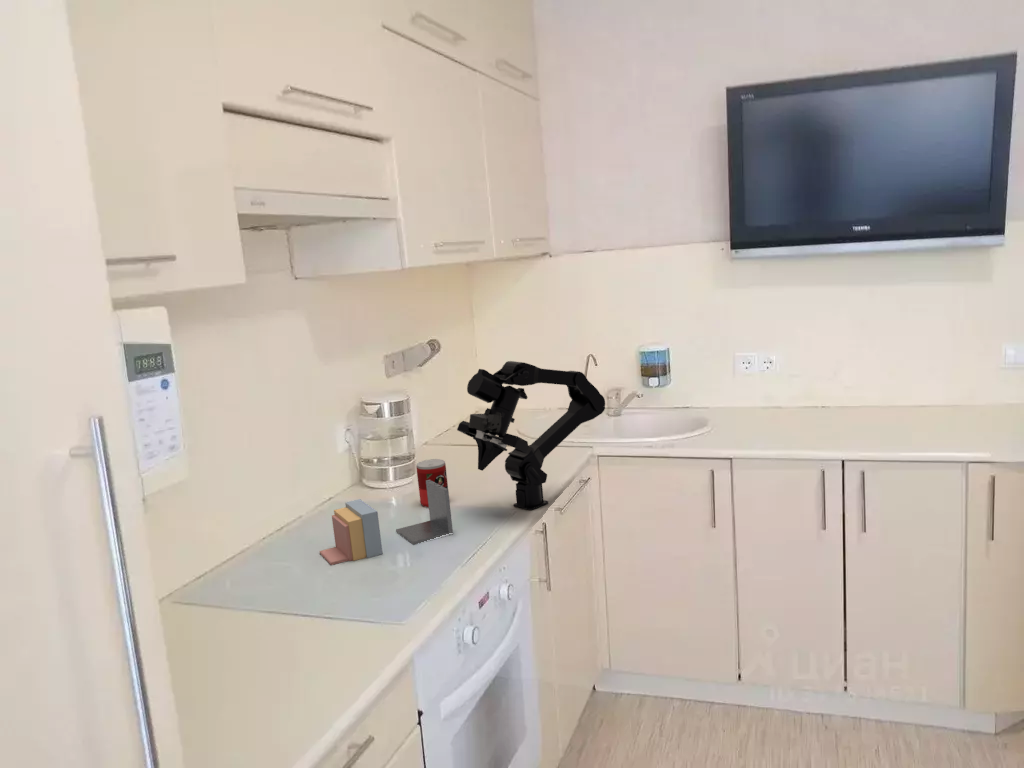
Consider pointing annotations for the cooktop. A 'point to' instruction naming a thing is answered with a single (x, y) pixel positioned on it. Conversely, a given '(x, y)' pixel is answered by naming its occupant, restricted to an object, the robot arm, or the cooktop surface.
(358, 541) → the book row
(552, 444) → the robot arm
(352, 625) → the cooktop surface
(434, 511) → the bookend
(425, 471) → the canned food
